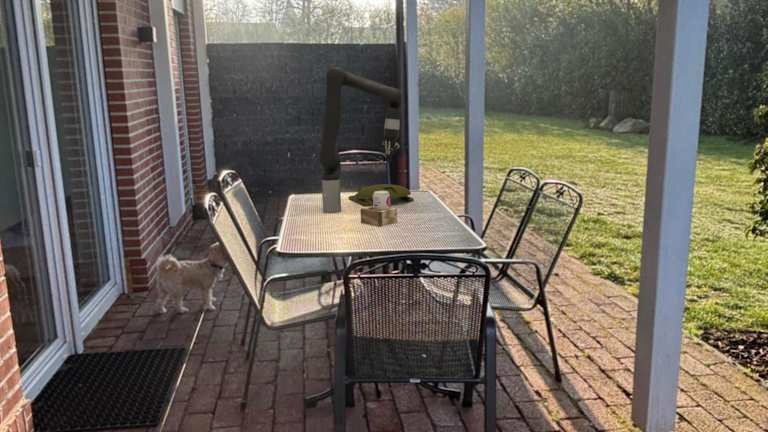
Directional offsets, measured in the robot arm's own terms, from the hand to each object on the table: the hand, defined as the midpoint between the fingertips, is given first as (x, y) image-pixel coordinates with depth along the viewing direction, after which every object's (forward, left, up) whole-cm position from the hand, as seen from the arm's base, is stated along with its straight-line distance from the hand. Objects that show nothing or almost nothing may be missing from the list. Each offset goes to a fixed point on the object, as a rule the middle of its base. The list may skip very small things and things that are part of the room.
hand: (388, 161), depth 337 cm
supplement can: (-10, -24, -27) cm, 37 cm away
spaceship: (+4, +33, -27) cm, 43 cm away
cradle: (-11, -23, -26) cm, 37 cm away
